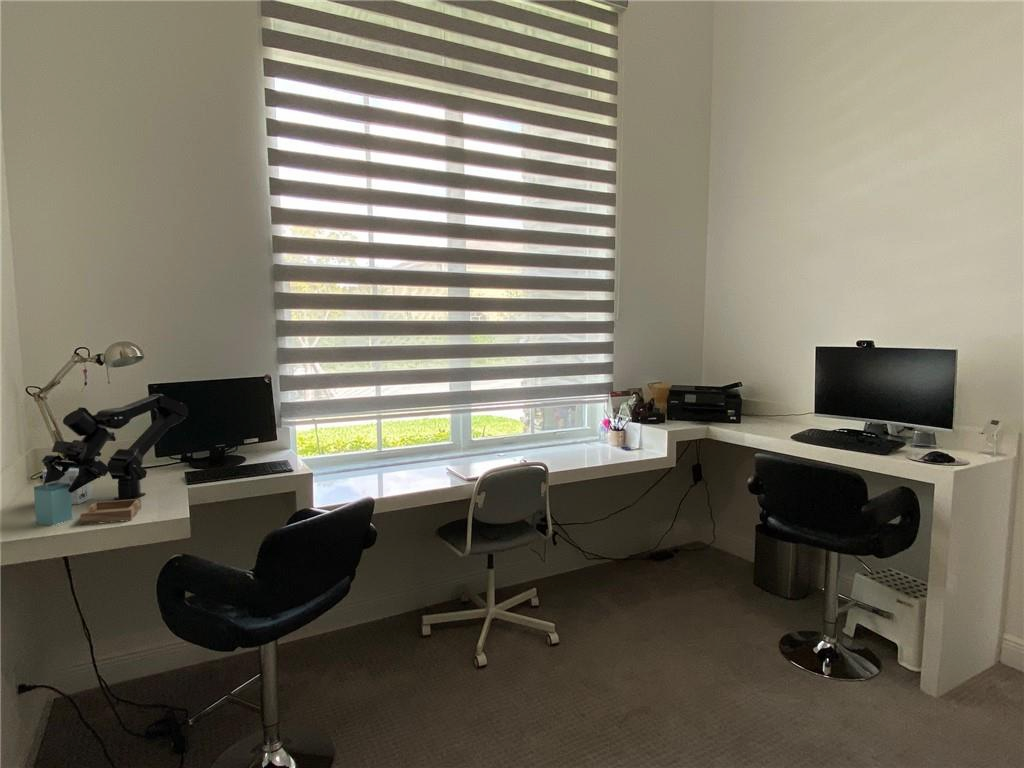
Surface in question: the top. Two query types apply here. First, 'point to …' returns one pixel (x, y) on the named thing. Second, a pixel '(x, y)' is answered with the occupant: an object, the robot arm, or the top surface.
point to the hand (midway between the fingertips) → (56, 490)
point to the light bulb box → (79, 494)
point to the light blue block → (52, 503)
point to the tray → (111, 511)
